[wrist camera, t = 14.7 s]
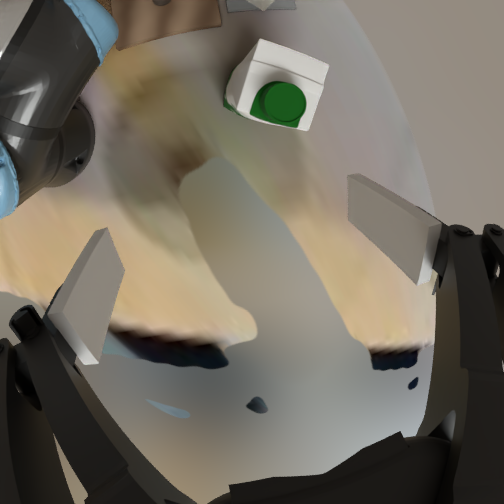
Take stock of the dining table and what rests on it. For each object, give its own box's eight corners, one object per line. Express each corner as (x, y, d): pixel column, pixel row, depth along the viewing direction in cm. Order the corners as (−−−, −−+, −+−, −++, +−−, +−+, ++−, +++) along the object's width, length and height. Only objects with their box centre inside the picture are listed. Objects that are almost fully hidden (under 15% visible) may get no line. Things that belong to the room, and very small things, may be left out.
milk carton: (216, 110, 39) (230, 113, 22) (232, 58, 35) (260, 24, 18) (269, 124, 41) (320, 141, 24) (285, 74, 38) (347, 59, 21)
